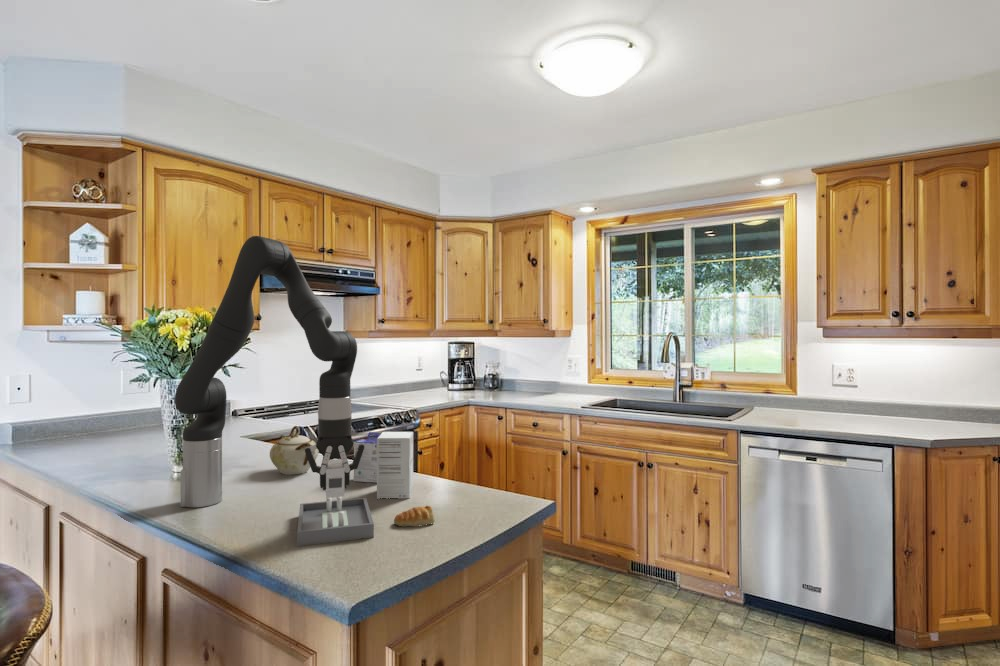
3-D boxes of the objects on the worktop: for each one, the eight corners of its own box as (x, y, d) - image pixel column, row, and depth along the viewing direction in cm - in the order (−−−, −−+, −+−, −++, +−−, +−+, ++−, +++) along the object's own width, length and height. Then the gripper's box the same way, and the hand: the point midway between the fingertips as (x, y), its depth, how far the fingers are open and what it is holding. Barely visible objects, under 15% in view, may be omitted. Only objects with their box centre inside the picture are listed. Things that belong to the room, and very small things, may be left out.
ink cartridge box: (390, 478, 168) (390, 432, 168) (383, 483, 163) (383, 435, 163) (361, 477, 170) (361, 431, 170) (353, 481, 165) (353, 434, 165)
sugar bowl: (331, 472, 175) (331, 426, 175) (287, 482, 164) (287, 433, 164) (300, 462, 188) (300, 419, 188) (257, 471, 177) (258, 425, 177)
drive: (326, 498, 122) (326, 469, 122) (325, 487, 131) (325, 460, 131) (344, 496, 124) (344, 468, 124) (342, 485, 132) (342, 459, 132)
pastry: (397, 531, 125) (397, 514, 125) (390, 522, 131) (390, 506, 131) (436, 525, 129) (436, 509, 129) (428, 516, 135) (428, 501, 135)
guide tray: (297, 546, 116) (297, 522, 116) (300, 515, 135) (300, 495, 134) (373, 537, 121) (373, 514, 121) (366, 509, 140) (366, 489, 140)
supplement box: (381, 489, 157) (381, 431, 157) (413, 488, 158) (413, 431, 158) (376, 499, 148) (376, 437, 148) (410, 498, 148) (410, 437, 148)
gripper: (302, 419, 122) (302, 496, 122) (367, 416, 126) (367, 490, 126) (303, 414, 129) (303, 486, 129) (364, 412, 133) (364, 481, 133)
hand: (334, 488), depth 128 cm, fingers closed on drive, 4 cm apart
